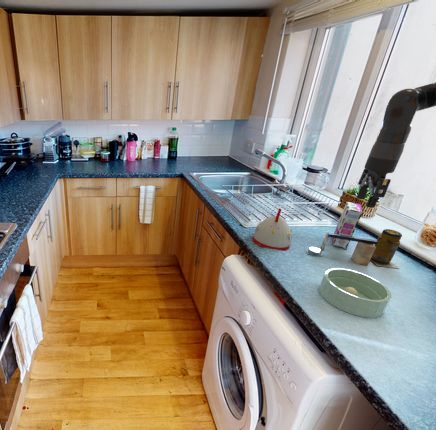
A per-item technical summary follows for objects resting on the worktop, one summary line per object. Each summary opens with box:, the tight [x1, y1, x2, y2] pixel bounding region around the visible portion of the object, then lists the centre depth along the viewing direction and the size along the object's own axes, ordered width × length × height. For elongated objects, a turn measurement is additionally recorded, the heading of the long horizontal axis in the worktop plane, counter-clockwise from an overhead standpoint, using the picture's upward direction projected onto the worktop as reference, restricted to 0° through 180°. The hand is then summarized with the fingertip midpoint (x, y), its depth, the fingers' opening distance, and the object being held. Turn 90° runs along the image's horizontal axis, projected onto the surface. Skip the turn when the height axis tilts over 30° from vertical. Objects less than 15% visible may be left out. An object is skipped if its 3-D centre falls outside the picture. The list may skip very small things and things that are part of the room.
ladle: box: [307, 232, 378, 258], centre depth 107 cm, size 19×4×10 cm, turn 69°
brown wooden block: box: [351, 242, 376, 267], centre depth 105 cm, size 3×6×8 cm, turn 159°
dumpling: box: [343, 287, 358, 296], centre depth 86 cm, size 4×4×4 cm
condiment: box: [370, 228, 403, 269], centre depth 105 cm, size 7×8×12 cm
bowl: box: [318, 267, 392, 319], centre depth 86 cm, size 16×16×6 cm
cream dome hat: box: [252, 208, 293, 252], centre depth 116 cm, size 14×14×15 cm
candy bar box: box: [332, 201, 363, 250], centre depth 117 cm, size 11×5×16 cm, turn 145°
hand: (364, 202), depth 99 cm, fingers open, 8 cm apart
